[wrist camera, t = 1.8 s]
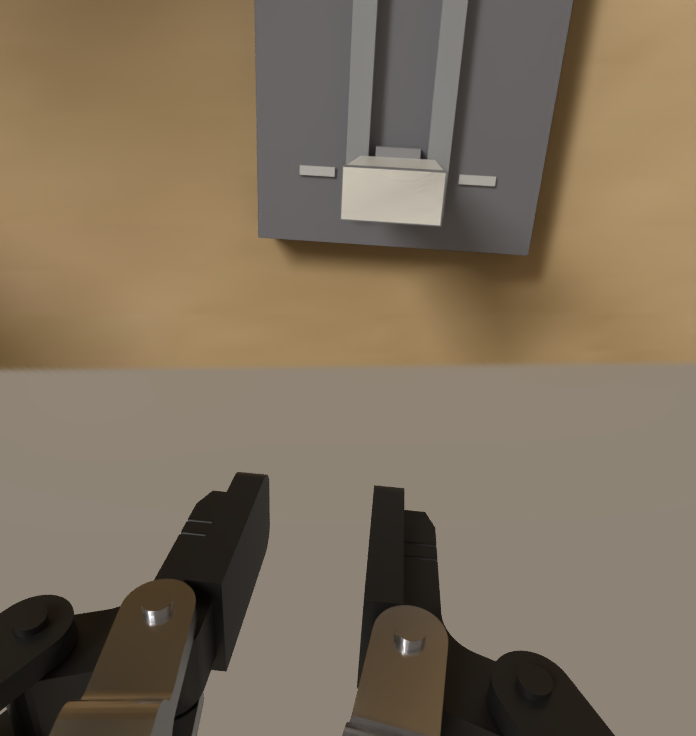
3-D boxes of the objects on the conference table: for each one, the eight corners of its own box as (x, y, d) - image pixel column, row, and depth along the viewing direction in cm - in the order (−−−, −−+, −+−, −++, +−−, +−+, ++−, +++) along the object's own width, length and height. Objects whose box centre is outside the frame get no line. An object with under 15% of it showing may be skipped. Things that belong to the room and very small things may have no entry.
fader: (358, 201, 32) (339, 231, 23) (361, 145, 31) (342, 153, 22) (430, 205, 32) (439, 237, 23) (435, 149, 31) (448, 159, 21)
